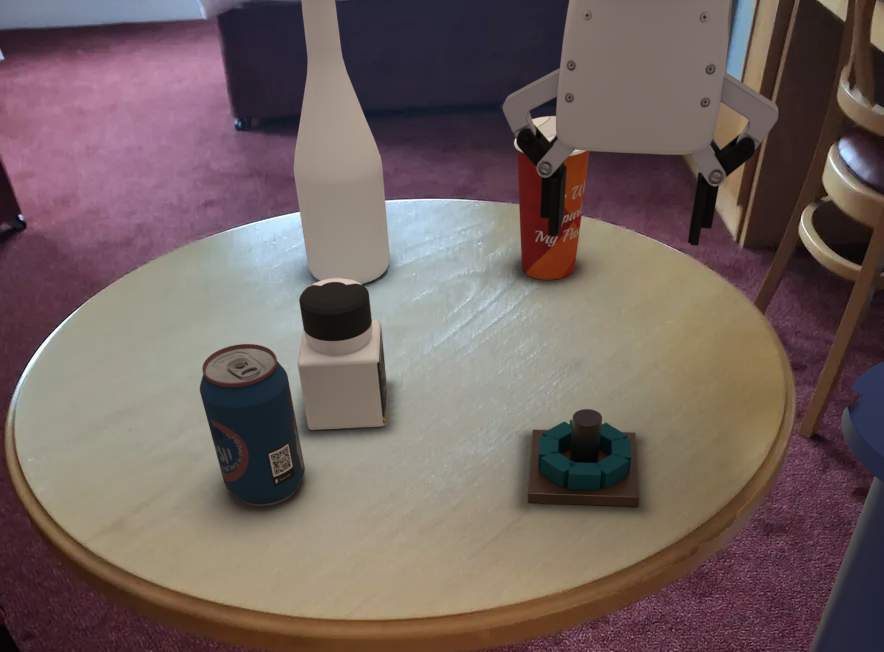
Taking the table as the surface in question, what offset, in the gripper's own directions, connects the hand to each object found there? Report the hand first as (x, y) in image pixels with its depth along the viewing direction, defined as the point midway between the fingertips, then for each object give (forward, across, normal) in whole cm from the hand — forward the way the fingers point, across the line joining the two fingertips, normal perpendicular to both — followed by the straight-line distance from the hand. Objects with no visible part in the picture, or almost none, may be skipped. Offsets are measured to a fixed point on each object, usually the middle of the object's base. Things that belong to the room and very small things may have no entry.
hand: (623, 232), depth 64 cm
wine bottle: (+21, +32, -32) cm, 50 cm away
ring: (+18, +1, +1) cm, 19 cm away
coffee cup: (+20, +10, -36) cm, 42 cm away
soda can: (+21, +28, +8) cm, 35 cm away
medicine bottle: (+21, +24, -4) cm, 32 cm away
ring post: (+20, +1, +1) cm, 20 cm away
